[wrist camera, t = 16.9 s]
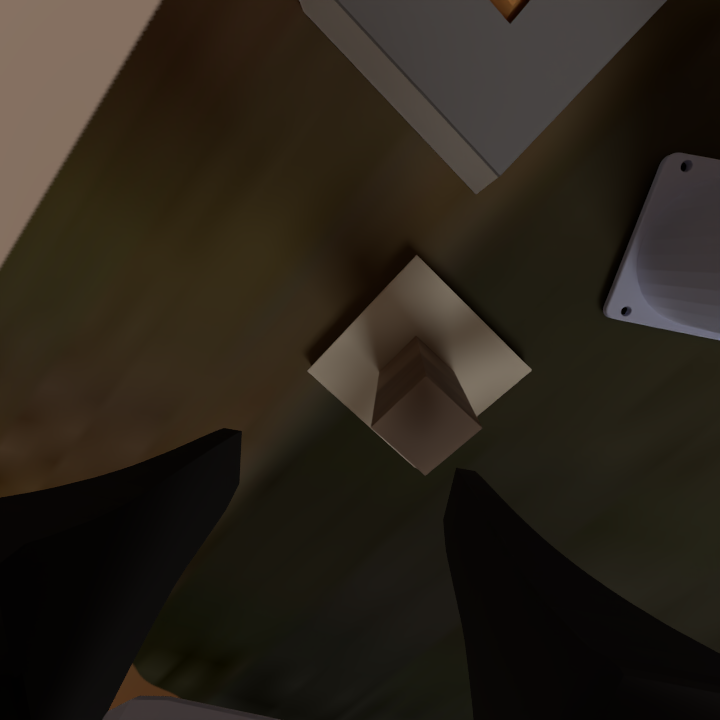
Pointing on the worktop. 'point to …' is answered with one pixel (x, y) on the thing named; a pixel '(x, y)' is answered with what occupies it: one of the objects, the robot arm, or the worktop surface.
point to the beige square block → (433, 327)
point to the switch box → (479, 66)
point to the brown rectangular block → (422, 407)
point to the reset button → (509, 8)
